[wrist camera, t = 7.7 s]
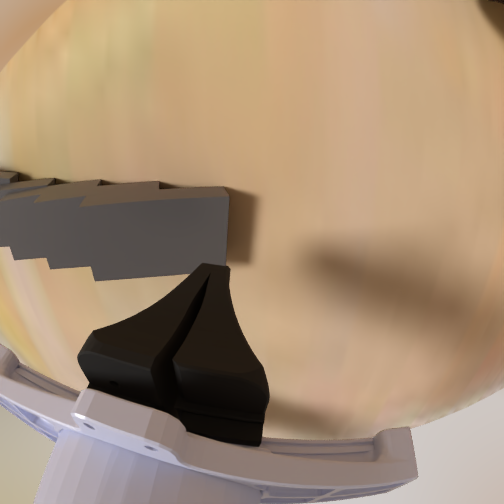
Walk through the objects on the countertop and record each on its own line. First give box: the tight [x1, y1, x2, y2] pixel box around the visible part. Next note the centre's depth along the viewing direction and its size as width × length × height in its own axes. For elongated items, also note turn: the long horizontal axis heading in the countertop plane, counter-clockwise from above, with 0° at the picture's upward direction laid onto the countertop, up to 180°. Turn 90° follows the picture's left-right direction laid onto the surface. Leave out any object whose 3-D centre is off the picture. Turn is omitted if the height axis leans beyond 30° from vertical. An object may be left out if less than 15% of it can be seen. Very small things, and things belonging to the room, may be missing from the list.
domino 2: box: [33, 181, 159, 269], centre depth 17 cm, size 5×2×8 cm
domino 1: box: [79, 187, 229, 281], centre depth 16 cm, size 5×2×8 cm
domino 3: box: [0, 179, 102, 260], centre depth 17 cm, size 5×2×8 cm
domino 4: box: [0, 178, 55, 247], centre depth 17 cm, size 5×2×8 cm
